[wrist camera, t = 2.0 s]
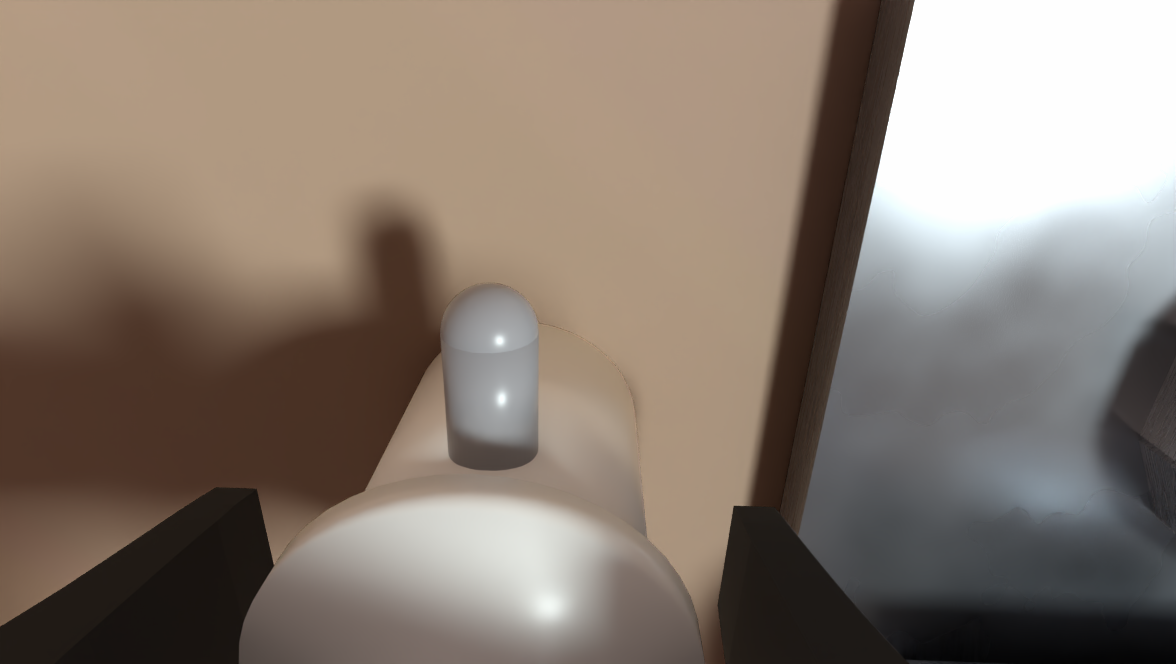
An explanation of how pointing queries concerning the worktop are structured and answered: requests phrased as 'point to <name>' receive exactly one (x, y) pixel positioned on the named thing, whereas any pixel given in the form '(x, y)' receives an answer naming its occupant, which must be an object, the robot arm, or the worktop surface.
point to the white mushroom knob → (488, 520)
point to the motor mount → (1003, 338)
